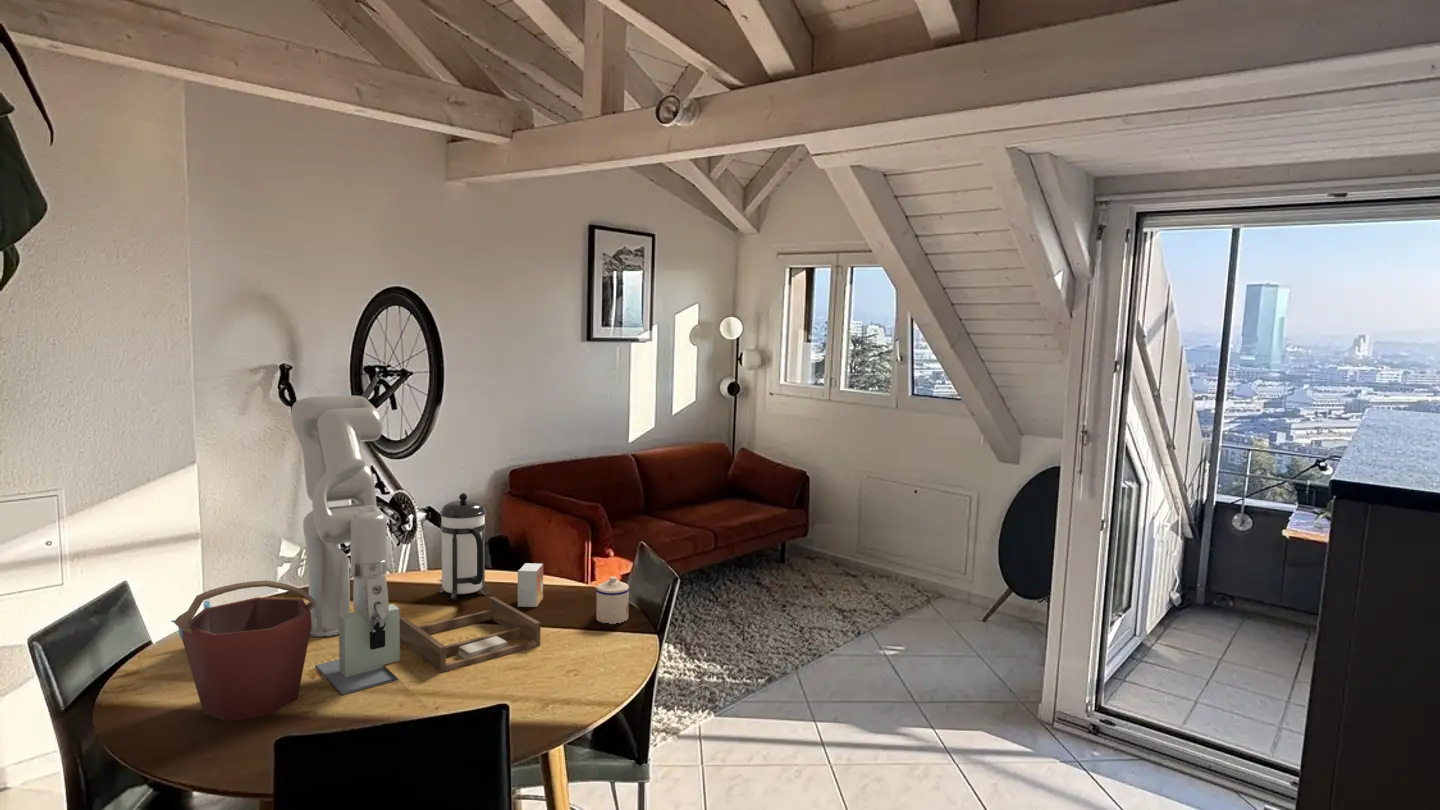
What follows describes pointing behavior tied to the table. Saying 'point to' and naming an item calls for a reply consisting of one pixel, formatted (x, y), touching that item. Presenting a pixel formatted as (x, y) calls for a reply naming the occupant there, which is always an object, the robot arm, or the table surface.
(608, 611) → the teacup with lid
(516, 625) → the rack
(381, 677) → the mat
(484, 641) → the offcut upper
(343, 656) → the pale green block
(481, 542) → the coffee press
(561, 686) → the table surface
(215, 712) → the bucket
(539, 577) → the small box
